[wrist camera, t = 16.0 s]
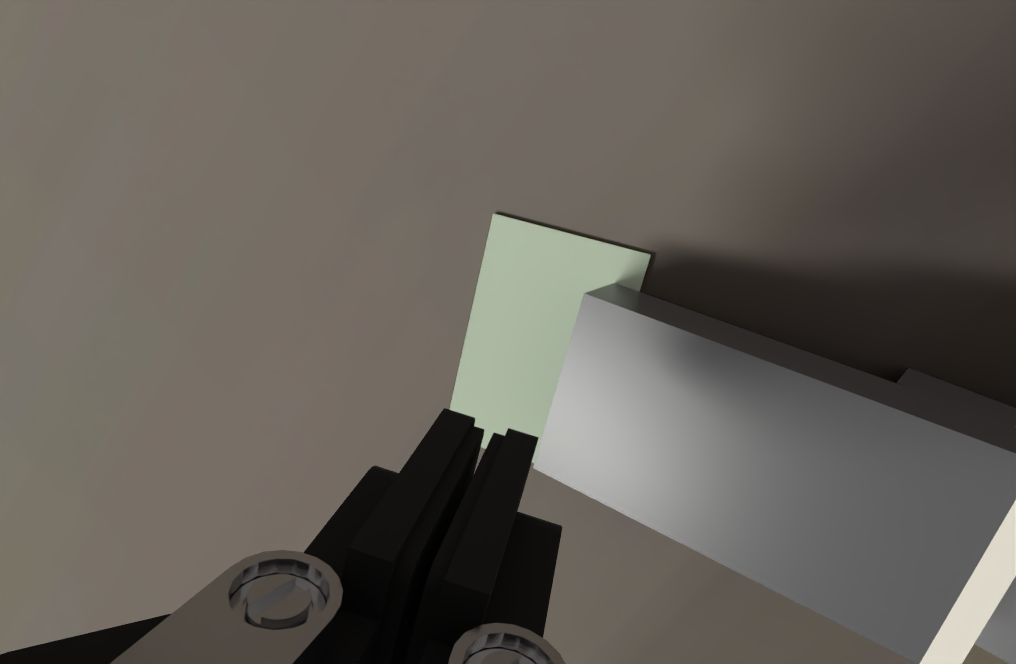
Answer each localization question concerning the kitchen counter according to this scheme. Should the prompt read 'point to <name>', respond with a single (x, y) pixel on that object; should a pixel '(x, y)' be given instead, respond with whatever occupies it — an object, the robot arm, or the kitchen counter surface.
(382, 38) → the kitchen counter surface
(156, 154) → the kitchen counter surface
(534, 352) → the pad
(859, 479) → the domino
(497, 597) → the robot arm
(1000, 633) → the domino
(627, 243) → the kitchen counter surface
